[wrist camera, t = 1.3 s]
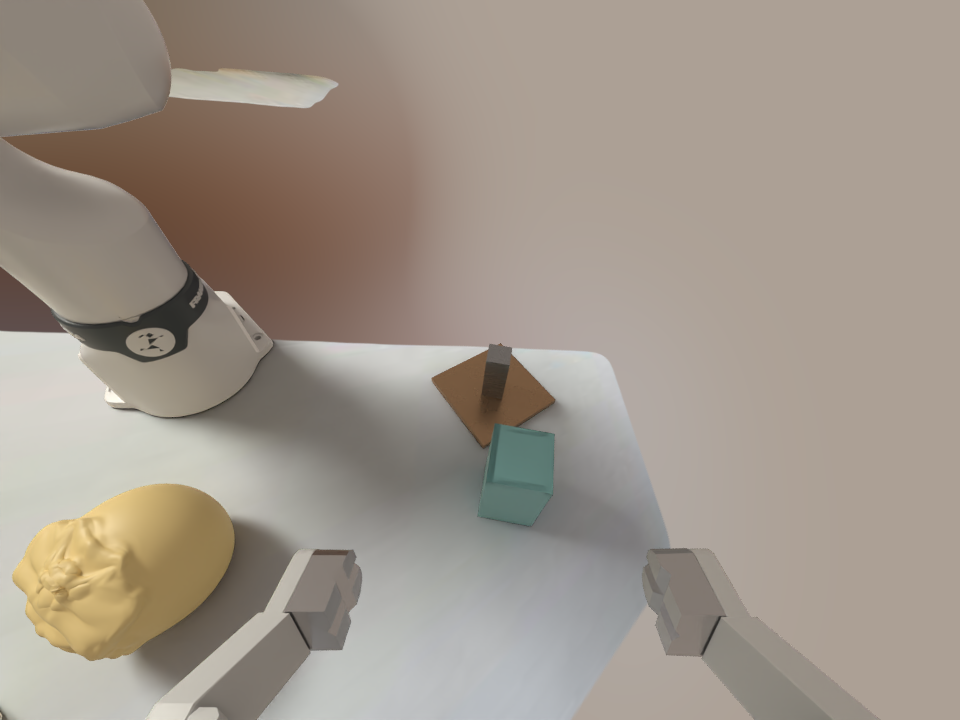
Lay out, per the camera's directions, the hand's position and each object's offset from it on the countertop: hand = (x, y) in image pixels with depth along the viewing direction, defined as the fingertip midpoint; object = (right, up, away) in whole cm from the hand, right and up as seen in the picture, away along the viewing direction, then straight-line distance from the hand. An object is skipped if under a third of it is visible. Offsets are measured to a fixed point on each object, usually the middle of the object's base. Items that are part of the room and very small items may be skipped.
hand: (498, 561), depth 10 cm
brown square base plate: (+1, +1, +39) cm, 39 cm away
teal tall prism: (+3, -10, +30) cm, 32 cm away
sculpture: (-29, -14, +24) cm, 40 cm away
